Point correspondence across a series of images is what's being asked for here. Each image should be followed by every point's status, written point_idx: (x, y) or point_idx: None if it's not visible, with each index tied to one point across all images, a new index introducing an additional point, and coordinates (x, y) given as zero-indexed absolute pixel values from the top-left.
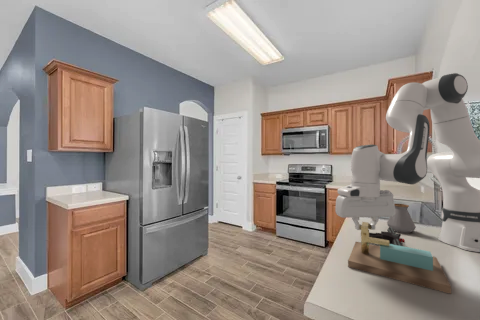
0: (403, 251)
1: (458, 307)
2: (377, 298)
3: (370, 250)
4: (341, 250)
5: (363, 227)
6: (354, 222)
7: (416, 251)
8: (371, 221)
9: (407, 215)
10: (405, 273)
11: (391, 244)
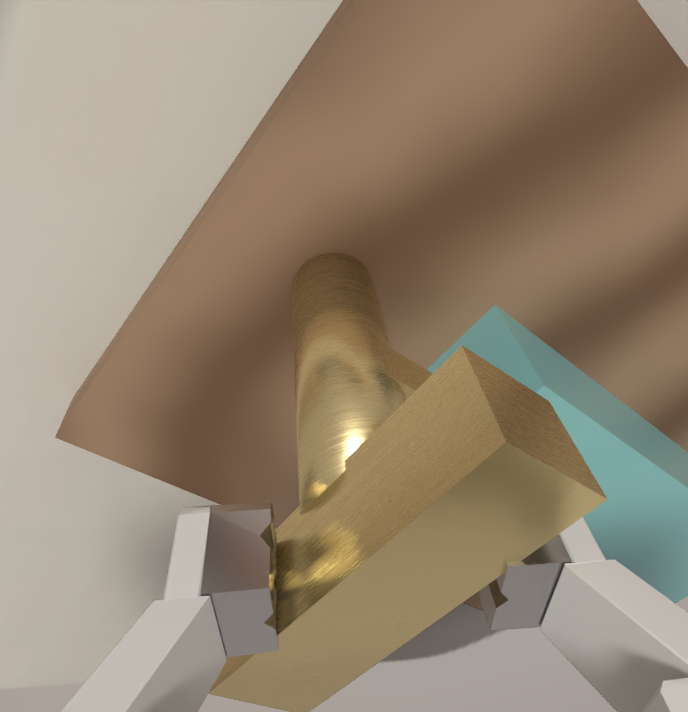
0: None
1: (429, 637)
2: (122, 626)
3: (448, 225)
4: (131, 2)
5: (243, 691)
6: (129, 647)
7: (660, 552)
8: (606, 617)
9: None
10: None
11: (607, 439)
